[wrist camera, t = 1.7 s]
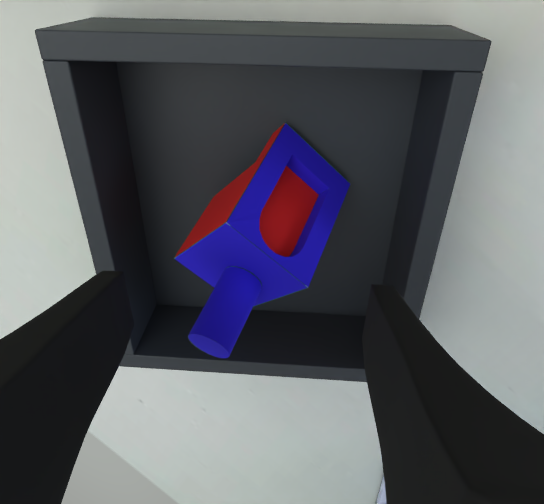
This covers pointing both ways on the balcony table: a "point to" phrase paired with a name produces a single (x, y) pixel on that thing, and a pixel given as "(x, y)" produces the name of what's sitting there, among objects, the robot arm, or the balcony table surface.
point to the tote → (245, 151)
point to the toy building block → (261, 236)
